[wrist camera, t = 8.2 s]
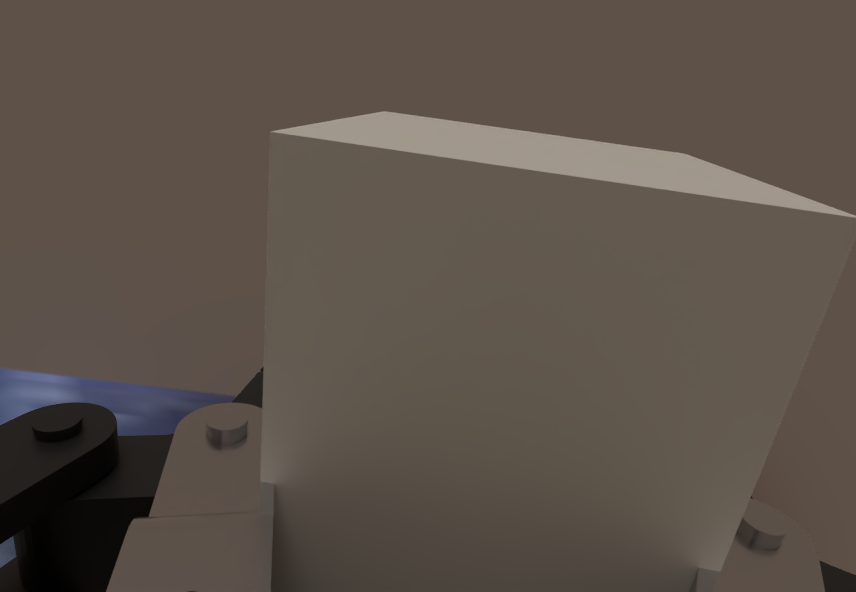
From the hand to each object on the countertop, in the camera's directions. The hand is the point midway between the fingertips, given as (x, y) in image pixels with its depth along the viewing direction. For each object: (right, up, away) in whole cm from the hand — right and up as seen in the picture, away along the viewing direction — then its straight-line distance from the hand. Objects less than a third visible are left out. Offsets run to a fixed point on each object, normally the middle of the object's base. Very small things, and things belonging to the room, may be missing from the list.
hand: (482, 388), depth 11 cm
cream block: (-1, -7, 0) cm, 7 cm away
